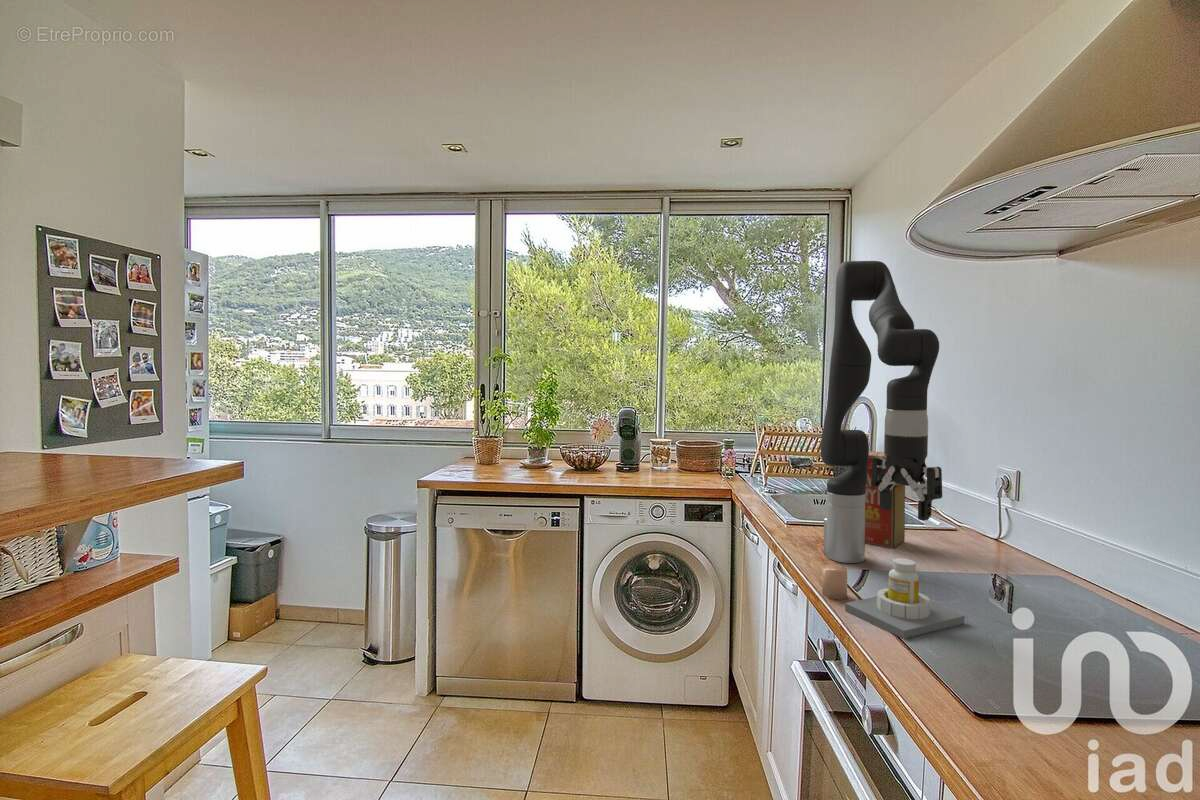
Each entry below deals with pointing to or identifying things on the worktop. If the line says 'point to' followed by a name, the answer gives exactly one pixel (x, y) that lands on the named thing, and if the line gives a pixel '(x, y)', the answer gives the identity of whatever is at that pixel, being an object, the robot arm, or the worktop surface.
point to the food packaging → (884, 512)
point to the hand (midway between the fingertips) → (904, 514)
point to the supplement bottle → (903, 582)
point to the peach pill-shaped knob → (834, 581)
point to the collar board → (901, 623)
